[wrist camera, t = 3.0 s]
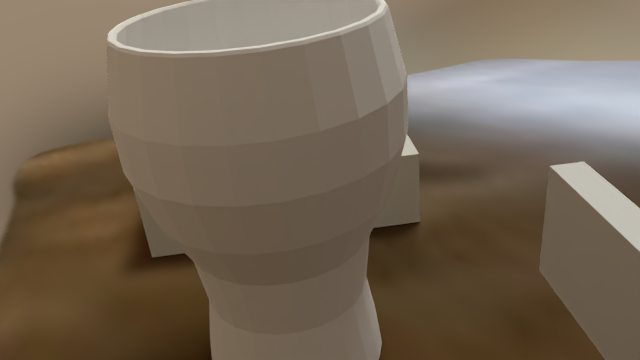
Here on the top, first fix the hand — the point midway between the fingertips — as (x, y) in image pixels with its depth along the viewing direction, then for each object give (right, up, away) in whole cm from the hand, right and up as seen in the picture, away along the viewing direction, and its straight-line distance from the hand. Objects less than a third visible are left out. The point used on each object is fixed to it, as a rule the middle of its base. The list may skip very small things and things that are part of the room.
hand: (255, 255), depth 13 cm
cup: (0, -6, +14) cm, 16 cm away
